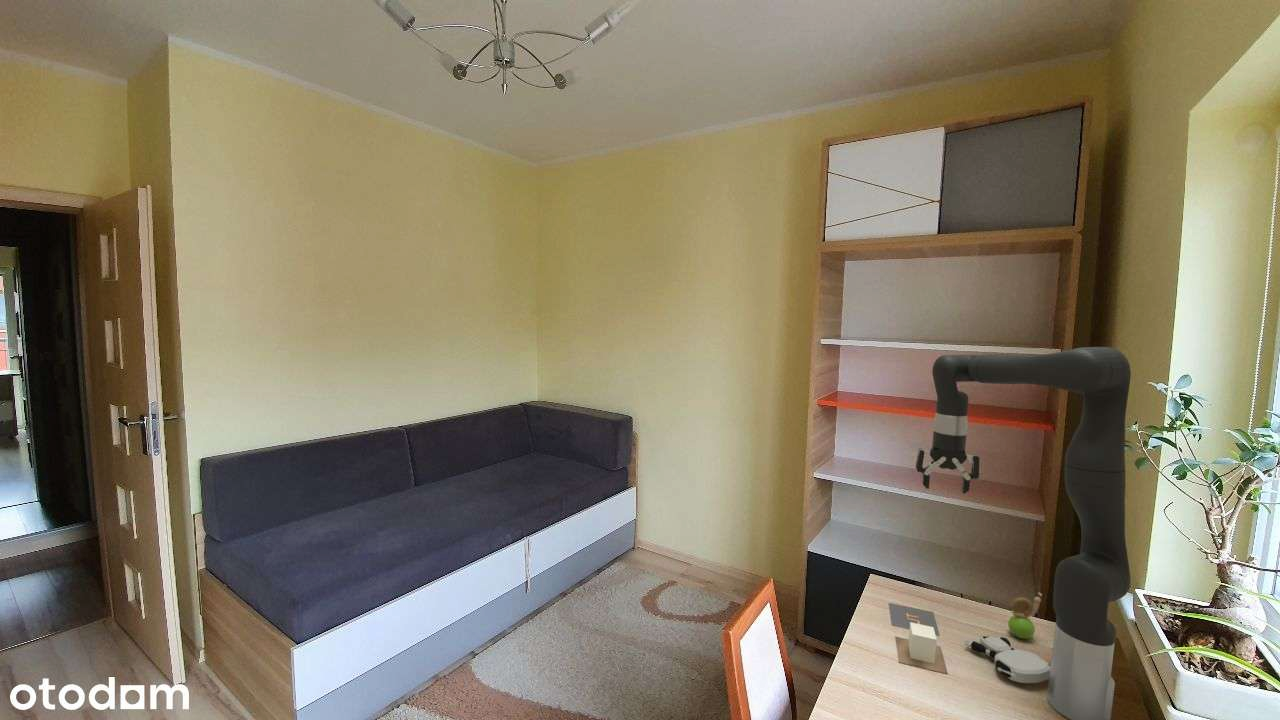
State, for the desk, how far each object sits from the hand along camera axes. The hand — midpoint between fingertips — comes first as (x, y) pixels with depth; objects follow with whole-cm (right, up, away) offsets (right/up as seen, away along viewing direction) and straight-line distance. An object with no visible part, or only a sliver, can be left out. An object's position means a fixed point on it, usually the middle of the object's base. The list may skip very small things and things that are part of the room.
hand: (944, 490), depth 138 cm
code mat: (-9, -34, 0) cm, 35 cm away
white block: (-14, -36, -14) cm, 41 cm away
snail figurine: (+16, -36, -7) cm, 39 cm away
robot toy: (+4, -37, -18) cm, 41 cm away
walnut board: (-14, -36, -14) cm, 41 cm away
